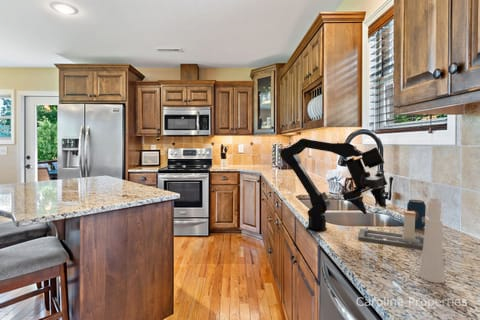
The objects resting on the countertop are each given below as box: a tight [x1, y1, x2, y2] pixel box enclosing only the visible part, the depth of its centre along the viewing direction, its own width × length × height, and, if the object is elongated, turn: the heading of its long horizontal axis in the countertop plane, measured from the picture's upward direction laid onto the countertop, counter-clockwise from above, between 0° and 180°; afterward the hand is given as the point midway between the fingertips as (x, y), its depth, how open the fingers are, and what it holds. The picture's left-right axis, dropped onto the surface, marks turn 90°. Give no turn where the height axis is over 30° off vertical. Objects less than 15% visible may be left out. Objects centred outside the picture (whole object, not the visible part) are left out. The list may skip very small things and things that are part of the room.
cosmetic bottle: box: [417, 196, 446, 284], centre depth 74 cm, size 6×6×22 cm
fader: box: [401, 210, 416, 240], centre depth 102 cm, size 4×4×10 cm
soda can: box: [406, 199, 427, 230], centre depth 121 cm, size 7×7×12 cm
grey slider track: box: [358, 227, 424, 250], centre depth 104 cm, size 24×12×3 cm, turn 63°
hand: (373, 210), depth 106 cm, fingers open, 9 cm apart
